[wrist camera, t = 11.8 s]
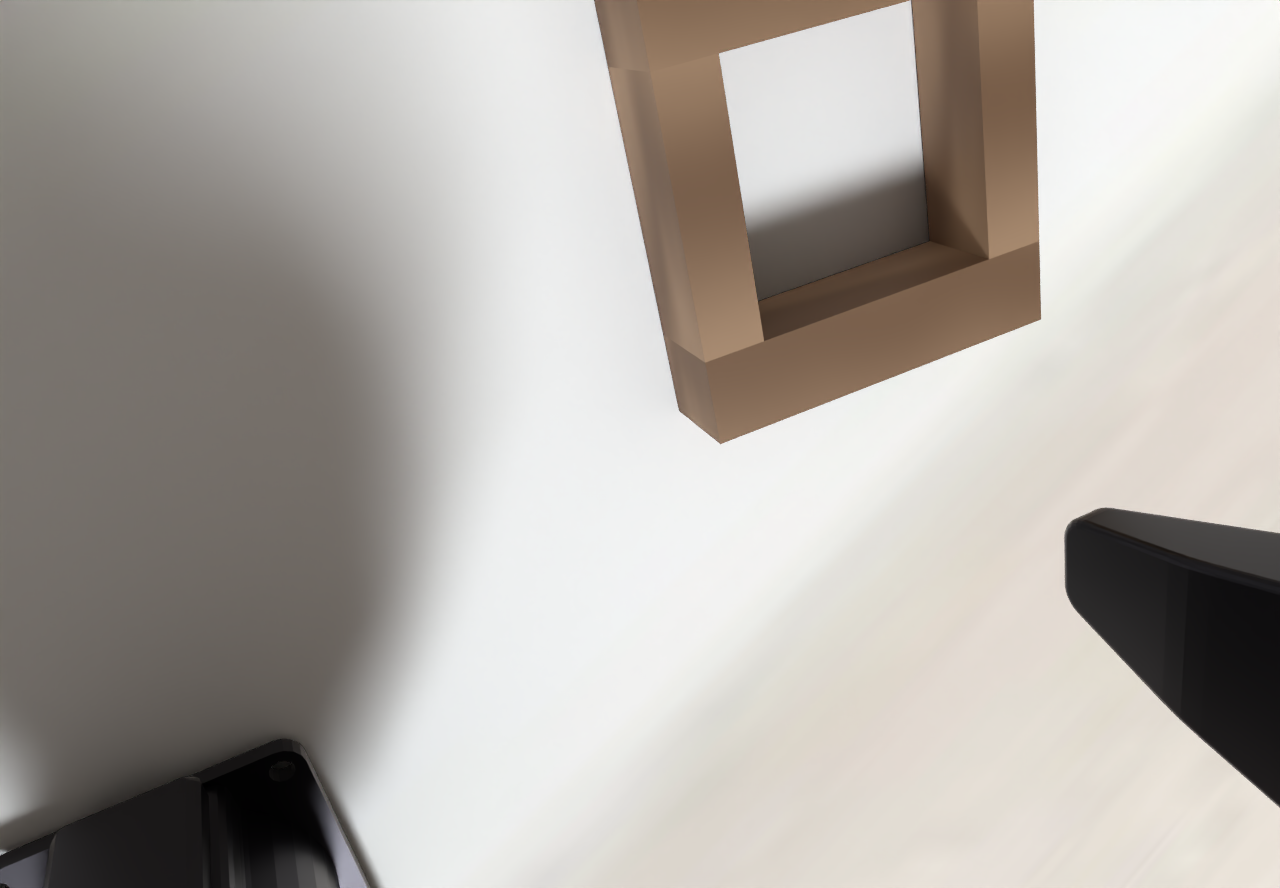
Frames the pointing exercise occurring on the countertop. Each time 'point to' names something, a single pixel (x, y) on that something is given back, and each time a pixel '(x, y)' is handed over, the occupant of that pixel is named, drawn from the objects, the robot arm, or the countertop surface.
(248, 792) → the robot arm
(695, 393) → the wooden slotted board
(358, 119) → the countertop surface
